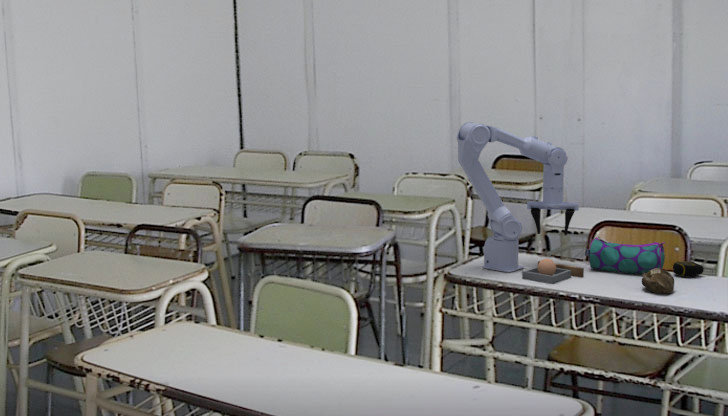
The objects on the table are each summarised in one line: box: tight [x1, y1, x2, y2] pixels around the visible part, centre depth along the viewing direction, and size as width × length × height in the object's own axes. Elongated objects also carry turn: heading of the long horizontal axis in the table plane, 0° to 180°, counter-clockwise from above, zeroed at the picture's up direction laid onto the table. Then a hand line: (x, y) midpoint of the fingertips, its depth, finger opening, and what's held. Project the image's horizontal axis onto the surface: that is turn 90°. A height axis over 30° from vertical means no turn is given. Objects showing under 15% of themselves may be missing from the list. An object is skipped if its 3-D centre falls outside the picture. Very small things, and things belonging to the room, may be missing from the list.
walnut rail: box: [537, 260, 585, 278], centre depth 235 cm, size 14×1×2 cm, turn 46°
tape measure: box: [672, 260, 704, 278], centre depth 230 cm, size 7×7×4 cm
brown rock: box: [641, 268, 675, 294], centre depth 215 cm, size 8×7×10 cm
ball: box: [537, 258, 557, 276], centre depth 230 cm, size 5×5×5 cm
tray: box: [521, 266, 572, 285], centre depth 231 cm, size 10×10×2 cm
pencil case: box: [584, 236, 666, 275], centre depth 236 cm, size 21×9×10 cm, turn 61°
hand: (552, 233), depth 244 cm, fingers open, 7 cm apart
